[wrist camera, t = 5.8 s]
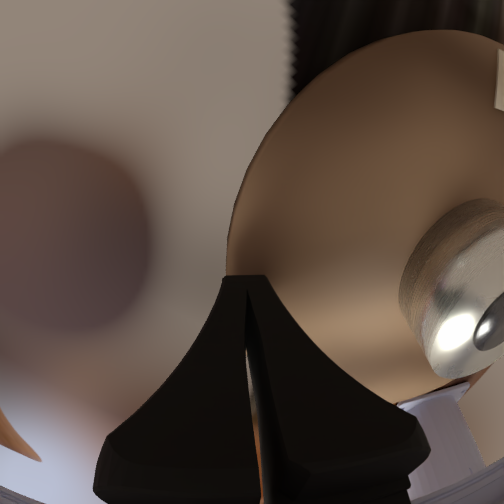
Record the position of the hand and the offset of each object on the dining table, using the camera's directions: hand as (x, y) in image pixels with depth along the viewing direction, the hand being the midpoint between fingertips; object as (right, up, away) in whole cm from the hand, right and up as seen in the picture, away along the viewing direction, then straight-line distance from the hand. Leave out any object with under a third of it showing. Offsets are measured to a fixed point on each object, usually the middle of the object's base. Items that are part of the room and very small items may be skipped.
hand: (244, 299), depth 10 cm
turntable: (+9, +1, +2) cm, 10 cm away
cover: (+10, +1, +1) cm, 10 cm away
